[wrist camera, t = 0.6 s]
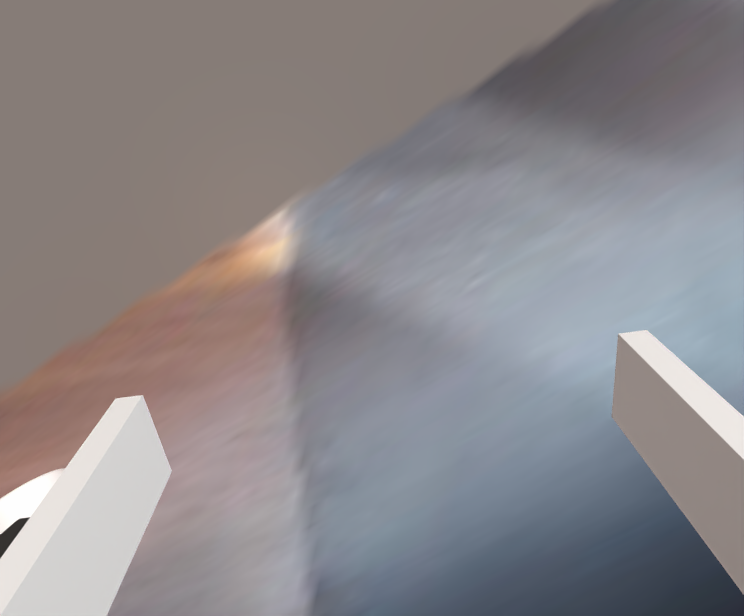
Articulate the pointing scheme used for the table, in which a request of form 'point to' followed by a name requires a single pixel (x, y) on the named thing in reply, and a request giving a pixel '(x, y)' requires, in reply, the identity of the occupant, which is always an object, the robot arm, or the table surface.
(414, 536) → the table surface
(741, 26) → the table surface
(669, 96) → the table surface
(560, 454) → the table surface
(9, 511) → the mug
